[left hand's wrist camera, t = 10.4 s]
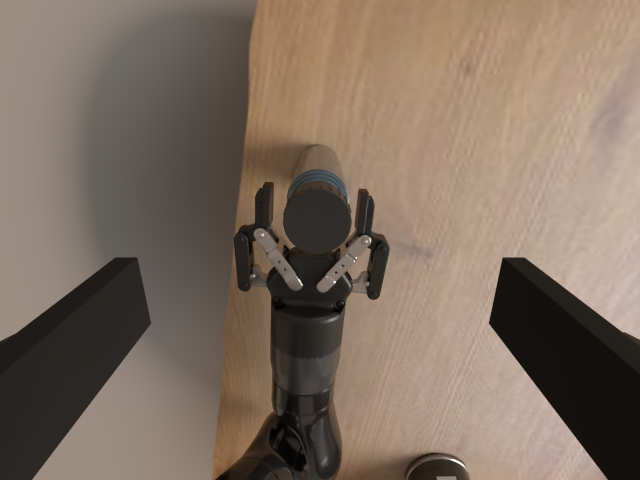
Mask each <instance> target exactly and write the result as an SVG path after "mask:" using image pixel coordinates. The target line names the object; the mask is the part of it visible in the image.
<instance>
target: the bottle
mask: <svg viewBox="0 0 640 480" xmlns="http://www.w3.org/2000/svg"><path fill="white" fill-rule="evenodd" d="M311 181H312V182H320V181H322V182H325V183H329V184H330V183H331V184H332V185H333V186H335V187H336V188H339V189H340V191H341V192H342V193H343V195H344V196H346V199H347V203H348V204H349V194H348V190H347V187H346V183H345V180H344V177H343V173H342V170H341V167H340V164H339V160H338V157H337V155H336V154H335V152H334V151H333V150H332V149H330V148H329V147H327V146H324V145H314V146H311V147H309V148H307V149H306V150H305V151H304V152H303V153H302V155H301V157H300V159H299V162H298V165H297V168H296V171H295V173H294V176H293V179H292V182H291V184H290V187H289V190H288V194H287V201H288V198H290V197H291V195H292V194H293V192H294V190H296V189H298V188H299V187H300V186H301V185H302V184H303V185H304V184H306V183H310V182H311Z"/></svg>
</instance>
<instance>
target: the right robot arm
mask: <svg viewBox="0 0 640 480" xmlns="http://www.w3.org/2000/svg"><path fill="white" fill-rule="evenodd" d="M273 193H274V183H273V182H265V183H264V185H263V188H260V189H259V190H258V192H257V194H256V196H255V223H254V224H252V225H243V226H241V228H240V229H239V231H238V233H237V234H236V235H235V237H234V246H235V257H236V268H237V279H238V287H239V289H240V290H241V291H248V290H249V289H250V287H267V288H268V289H269V291H270V293H271V341H270V359H271V365H272V406H273V410H274V411H273V412H272V413H270V414H269V415H268V417H267V418H266V420H265V421H264V423H263V424H262V426H261V428H260V430H259V432H258V434H257V435H256V437H255V439H254V440H253V442H252V443H251V445H250V446H249V448H248V449H247V450H246V452H245V453H244V454H243V456H242V457H241V458H240V459H239V460H238V461H236V462H235V463H234V464H233V465H232V466H231V467H229V468H228V469H227V470H226V471H225V472H224V473H222V474H221V475H220V476H219V477H218V478H216V479H215V480H335V478H336V476H337V474H338V472H339V469H340V465H341V459H342V439H341V433H340V429H339V425H338V421H337V416H336V412H335V407H334V403H333V393H334V384H335V375H336V371H337V367H338V364H339V358H340V350H341V341H342V332H343V323H344V314H345V305H346V299H347V297H348V296H349V294H350V293H351V292H356V293H365V294H367V295H368V297H369V298H370V299H372V300H375V299H377V298H378V297H379V296H380V292H381V287H382V283H383V278H384V273H385V269H386V264H387V260H388V255H389V251H390V247H389V245H388V243H387V241H386V239H385V237H384V235H382V234H376V233H374V232H372V224H373V216H374V208H375V204H374V200H373V198H372V196H369V193H368V191H367V189H359V191H358V199H357V208H356V217H355V229H356V230H355V231H354V232H353V233H352V234H351V235H350V237H349V238H348V239H347V240H345V241H344V242H343V243H342V244H341V245H340V246H339V247H338V248H336V249H335V250H334V251H330V252H327V253H322V254H314V253H308V252H305V251H303V250H301V249H299V248H297V247H294V248H290V247H289V246H288V244H287V243H286V242H285V240H284V239H283V238H282V237H281V236H279V235H278V234H277V232H276V231H275V230H274V228H273V227H272V226H271V223H272V221H273ZM256 240H257V241H258V243H259V244H260V245H261V246H262V248H263V249H264V250H265V252H266V254H267V257H268V259H269V260H270V261H271V262H272V264H273V265H274V267H273V268H272V269H271V271H270V272H269V274H265V273H263V272H262V270H261V267H260V266H259V265H258V264H254V252H253V241H256ZM366 248H369V249H371V252H370V258H369V263H368V268H367V271H363V272H361V273H360V275H359V277H358V278H357V279H355V280H352V278H351V276H350V275H349V273H348V272H347V270H348V269H349V268H350V267H351V266H352V265H353V264H354V263H355V261H356V259H357V257H358V256H359V255H360V254H361V253H362V252H363V251H364V250H365V249H366ZM405 479H406V480H470V478H469V474H468V471H467V468H466V466H465V464H464V463H463V462H462V461H461V460H460V459H458V458H457V457H455V456H452V455H448V454H431V455H427V456H424V457H422V458H419V459H418V460H416V461H415V462H413V463H412V464H411V465H410V466H409V468H408V469H407V471H406V475H405Z"/></svg>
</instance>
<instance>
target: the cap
mask: <svg viewBox="0 0 640 480" xmlns="http://www.w3.org/2000/svg"><path fill="white" fill-rule="evenodd" d="M286 206H287V207H285V210H284V213H283V215H284V219H283V225H284V230H285V232H286V235H287V237H288V238H289V240H290V241H291V242H292V243H293V244H294V245H295V246H296V247H297V248H299V249H301V250H303V251H305V252H308V253H314V254H322V253H327V252H330V251H332V250H334V249H336V248H338V247H339V246H340V245H341V244H342V243H343V242H344V241H345V240H346V238H347V237H348V235H349V233H350V229H351V224H352V219H351V214H350V213H351V209H350V206H349V204H348V203H347V199H346V196H344V195H343V193H342V192H341V191H340V189H339V188H336V187H335V186H333V185H332V184H331V183H330V184H329V183H325V182H322V181H320V182H312V181H311V182H310V183H306V184H304V185H303V184H302V185H301V186H300V187H299V188H298V189H296V190H294V192H293V194H292V195H291V197H290V198H288V201H287V204H286Z"/></svg>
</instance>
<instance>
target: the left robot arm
mask: <svg viewBox="0 0 640 480" xmlns="http://www.w3.org/2000/svg"><path fill="white" fill-rule="evenodd" d="M150 324H151V321H150V316H149V311H148V307H147V302H146V297H145V292H144V288H143V283H142V278H141V273H140V269H139V264H138V259H137V258H114V259H113V260H112V261H110V262H109V263H108V264H107V265H105V266H104V267H103V268H101V269H100V270H99V271H97V272H96V273H95V274H93V275H92V276H91V277H89V278H88V279H87V280H86V281H84V282H83V283H82V284H80V285H79V286H78V287H76V288H75V289H74V290H72V291H71V292H70V293H69V294H67V295H66V296H65V297H63V298H62V299H61V300H59V301H58V302H57V303H55V304H54V305H53V306H51V307H50V308H49V309H48V310H46V311H45V312H44V313H42V314H41V315H40V316H38V317H37V318H36V319H34V320H33V321H32V322H30V323H29V324H28V325H27V326H25V327H24V328H23V329H21V330H20V331H19V332H17V333H16V334H14V335H12V336H10V337H8V338H6V339H4V340H2V341H0V480H32V479H33V478H34V476H35V475H36V474H37V472H38V471H39V470H40V469H41V467H42V466H43V465H44V463H45V462H46V461H47V459H48V458H49V457H50V455H51V454H52V453H53V451H54V450H55V449H56V448H57V446H58V445H59V444H60V442H61V441H62V440H63V438H64V437H65V436H66V434H67V433H68V432H69V430H70V429H71V428H72V427H73V425H74V424H75V423H76V421H77V420H78V419H79V417H80V416H81V415H82V413H83V412H84V411H85V409H86V408H87V407H88V405H89V404H90V403H91V402H92V400H93V399H94V398H95V396H96V395H97V394H98V392H99V391H100V390H101V388H102V387H103V386H104V384H105V383H106V382H107V381H108V379H109V378H110V377H111V375H112V374H113V373H114V371H115V370H116V369H117V367H118V366H119V365H120V363H121V362H122V361H123V360H124V358H125V357H126V355H127V354H128V353H129V352H130V350H131V349H132V348H133V346H134V345H135V344H136V342H137V341H138V340H139V339H140V337H141V336H142V335H143V333H144V332H145V331H146V329H147V328H148V327H149V325H150ZM489 324H490V325H491V327H492V328H493V329H494V331H495V332H496V333H497V335H498V336H499V337H500V339H501V340H502V341H503V342H504V344H505V345H506V346H507V348H508V349H509V350H510V352H511V353H512V354H513V356H514V357H515V358H516V360H517V361H518V362H519V363H520V365H521V366H522V367H523V369H524V370H525V371H526V373H527V374H528V375H529V377H530V378H531V379H532V381H533V382H534V383H535V384H536V386H537V387H538V388H539V390H540V391H541V392H542V394H543V395H544V396H545V398H546V399H547V400H548V402H549V403H550V404H551V406H552V407H553V408H554V409H555V411H556V412H557V413H558V415H559V416H560V417H561V419H562V420H563V421H564V423H565V424H566V425H567V427H568V428H569V429H570V430H571V432H572V433H573V434H574V436H575V437H576V438H577V440H578V441H579V442H580V444H581V445H582V446H583V448H584V449H585V450H586V451H587V453H588V454H589V455H590V457H591V458H592V459H593V461H594V462H595V463H596V465H597V466H598V467H599V469H600V470H601V471H602V472H603V474H604V475H605V476H606V478H607V479H608V480H640V340H639V339H637V338H635V337H633V336H631V335H629V334H627V333H625V332H621V331H620V330H619V329H617V328H616V327H615V326H613V325H612V324H611V323H610V322H608V321H607V320H606V319H604V318H603V317H602V316H600V315H599V314H598V313H596V312H595V311H594V310H592V309H591V308H590V307H589V306H587V305H586V304H585V303H583V302H582V301H581V300H579V299H578V298H577V297H575V296H574V295H573V294H572V293H570V292H569V291H568V290H566V289H565V288H564V287H562V286H561V285H560V284H558V283H557V282H556V281H554V280H553V279H552V278H551V277H549V276H548V275H547V274H545V273H544V272H543V271H541V270H540V269H539V268H537V267H536V266H535V265H534V264H532V263H531V262H530V261H528V260H527V259H526V258H503V259H502V264H501V268H500V273H499V278H498V283H497V287H496V292H495V297H494V302H493V306H492V311H491V316H490V321H489Z"/></svg>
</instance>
